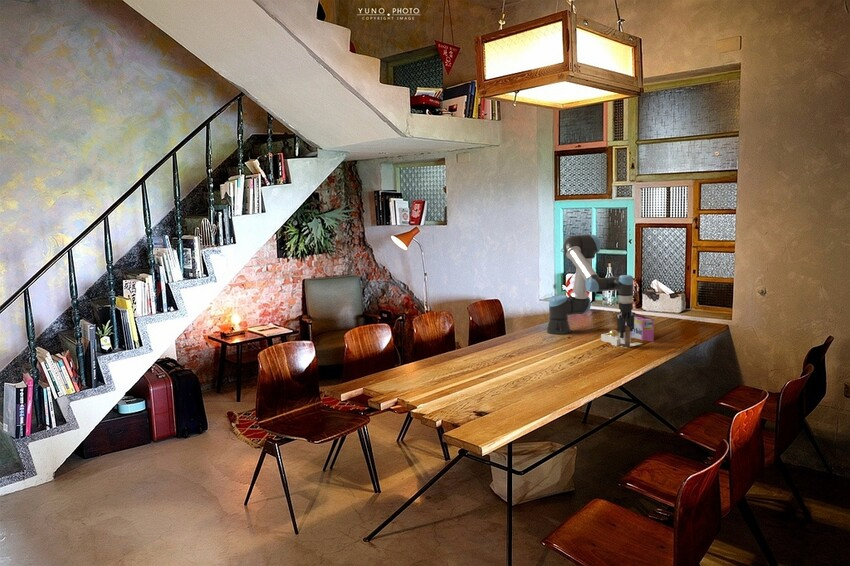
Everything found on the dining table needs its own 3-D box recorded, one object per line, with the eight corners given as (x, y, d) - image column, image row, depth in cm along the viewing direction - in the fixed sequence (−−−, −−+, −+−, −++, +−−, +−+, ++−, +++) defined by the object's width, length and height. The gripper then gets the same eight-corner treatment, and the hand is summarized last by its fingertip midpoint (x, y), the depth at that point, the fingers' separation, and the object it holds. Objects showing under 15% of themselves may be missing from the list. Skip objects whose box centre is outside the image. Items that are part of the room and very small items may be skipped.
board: (596, 343, 387) (596, 341, 386) (614, 339, 395) (614, 337, 395) (626, 350, 368) (626, 348, 368) (644, 345, 377) (644, 343, 377)
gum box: (621, 334, 408) (621, 313, 407) (632, 333, 410) (632, 312, 408) (642, 342, 385) (642, 320, 384) (654, 341, 387) (654, 319, 385)
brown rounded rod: (620, 346, 373) (620, 325, 371) (625, 344, 375) (625, 324, 374) (626, 347, 369) (626, 326, 368) (631, 346, 372) (631, 325, 370)
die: (611, 344, 377) (611, 338, 377) (615, 343, 380) (615, 337, 379) (616, 346, 374) (616, 339, 373) (621, 345, 376) (621, 338, 376)
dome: (604, 339, 387) (604, 329, 386) (612, 337, 391) (612, 328, 390) (614, 341, 382) (614, 331, 381) (622, 339, 385) (622, 329, 384)
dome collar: (601, 341, 388) (601, 334, 387) (612, 338, 393) (612, 331, 393) (614, 343, 380) (614, 337, 379) (625, 341, 385) (625, 334, 384)
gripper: (621, 305, 361) (620, 346, 364) (641, 301, 370) (640, 341, 374) (610, 303, 367) (610, 344, 370) (630, 299, 377) (630, 339, 380)
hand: (625, 342), depth 372 cm, fingers closed on brown rounded rod, 4 cm apart
